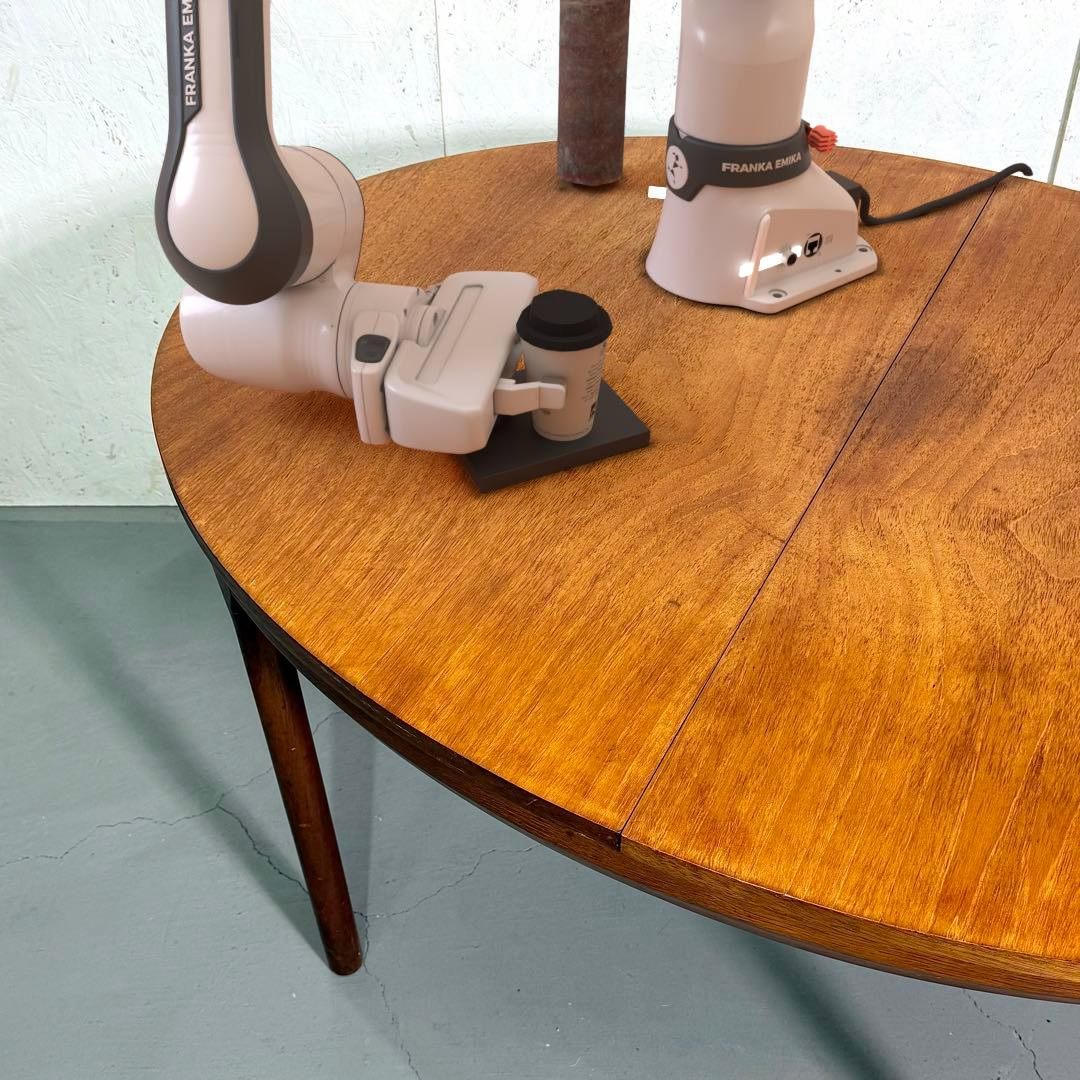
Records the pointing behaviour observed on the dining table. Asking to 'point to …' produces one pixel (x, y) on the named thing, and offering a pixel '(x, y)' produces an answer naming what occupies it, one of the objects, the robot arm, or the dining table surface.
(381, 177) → the dining table surface
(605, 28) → the candle
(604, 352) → the coffee cup
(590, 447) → the dark grey button base
